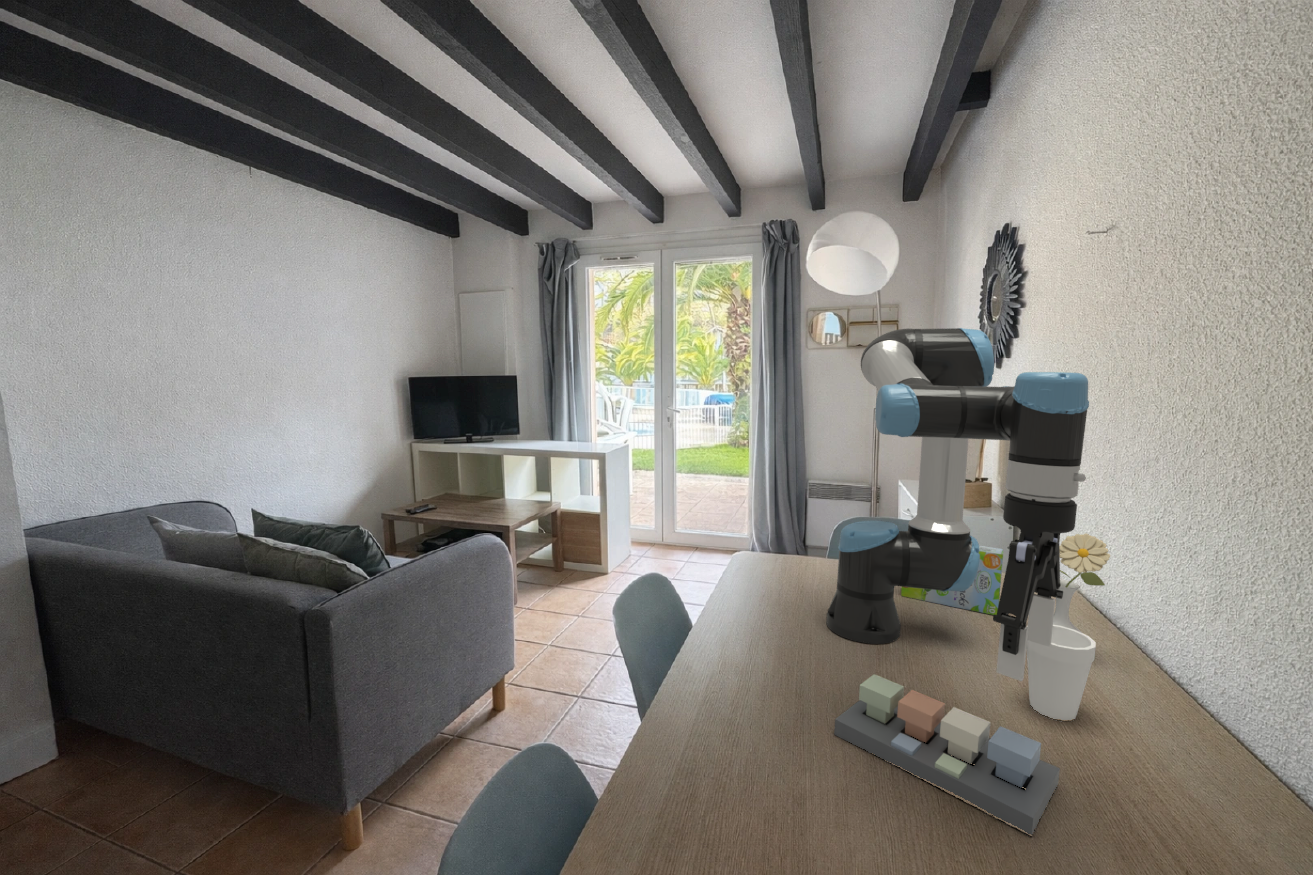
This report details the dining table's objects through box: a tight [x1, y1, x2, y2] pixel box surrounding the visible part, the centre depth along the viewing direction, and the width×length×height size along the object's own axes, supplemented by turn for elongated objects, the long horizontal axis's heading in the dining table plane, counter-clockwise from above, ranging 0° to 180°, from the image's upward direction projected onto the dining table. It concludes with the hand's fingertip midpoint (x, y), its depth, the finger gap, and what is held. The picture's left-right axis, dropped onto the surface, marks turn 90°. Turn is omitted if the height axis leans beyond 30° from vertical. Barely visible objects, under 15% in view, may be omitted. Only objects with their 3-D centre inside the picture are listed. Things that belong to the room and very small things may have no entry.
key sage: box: [858, 673, 905, 725], centre depth 88 cm, size 5×5×5 cm
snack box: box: [900, 545, 1004, 616], centre depth 138 cm, size 21×6×15 cm, turn 58°
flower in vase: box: [1053, 533, 1111, 633], centre depth 114 cm, size 13×11×25 cm
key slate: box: [987, 725, 1042, 789], centre depth 75 cm, size 5×5×5 cm
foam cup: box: [1026, 625, 1097, 720], centre depth 94 cm, size 10×9×13 cm
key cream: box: [940, 706, 991, 765], centre depth 79 cm, size 5×5×5 cm
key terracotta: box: [897, 689, 946, 744], centre depth 83 cm, size 5×5×5 cm
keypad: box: [833, 699, 1061, 836], centre depth 82 cm, size 26×13×3 cm, turn 43°
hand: (1024, 658), depth 73 cm, fingers open, 12 cm apart
